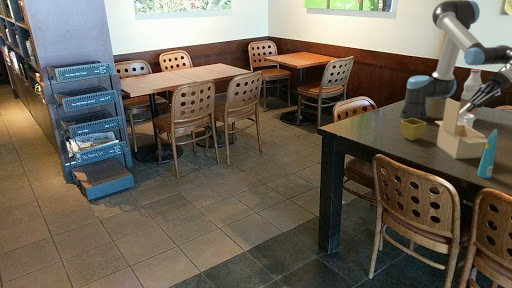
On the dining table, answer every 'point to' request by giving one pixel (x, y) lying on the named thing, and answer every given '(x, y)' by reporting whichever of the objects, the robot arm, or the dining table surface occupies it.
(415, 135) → the flower pot
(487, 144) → the tube
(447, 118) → the flap
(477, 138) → the carton
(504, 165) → the dining table surface
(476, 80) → the fruit juice
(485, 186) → the dining table surface
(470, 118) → the mug
